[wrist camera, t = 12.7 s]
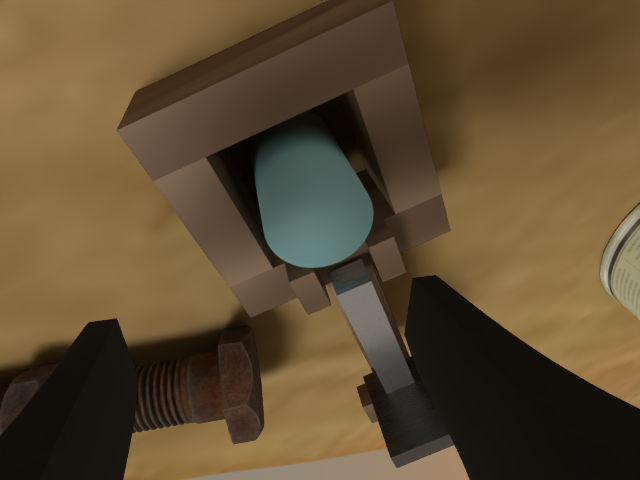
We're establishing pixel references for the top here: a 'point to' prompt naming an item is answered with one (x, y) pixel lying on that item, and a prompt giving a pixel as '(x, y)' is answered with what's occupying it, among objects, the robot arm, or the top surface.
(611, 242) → the coffee can
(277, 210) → the dowel
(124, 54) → the top surface
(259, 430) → the bolt
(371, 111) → the mount
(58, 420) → the robot arm
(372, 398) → the lock bar
